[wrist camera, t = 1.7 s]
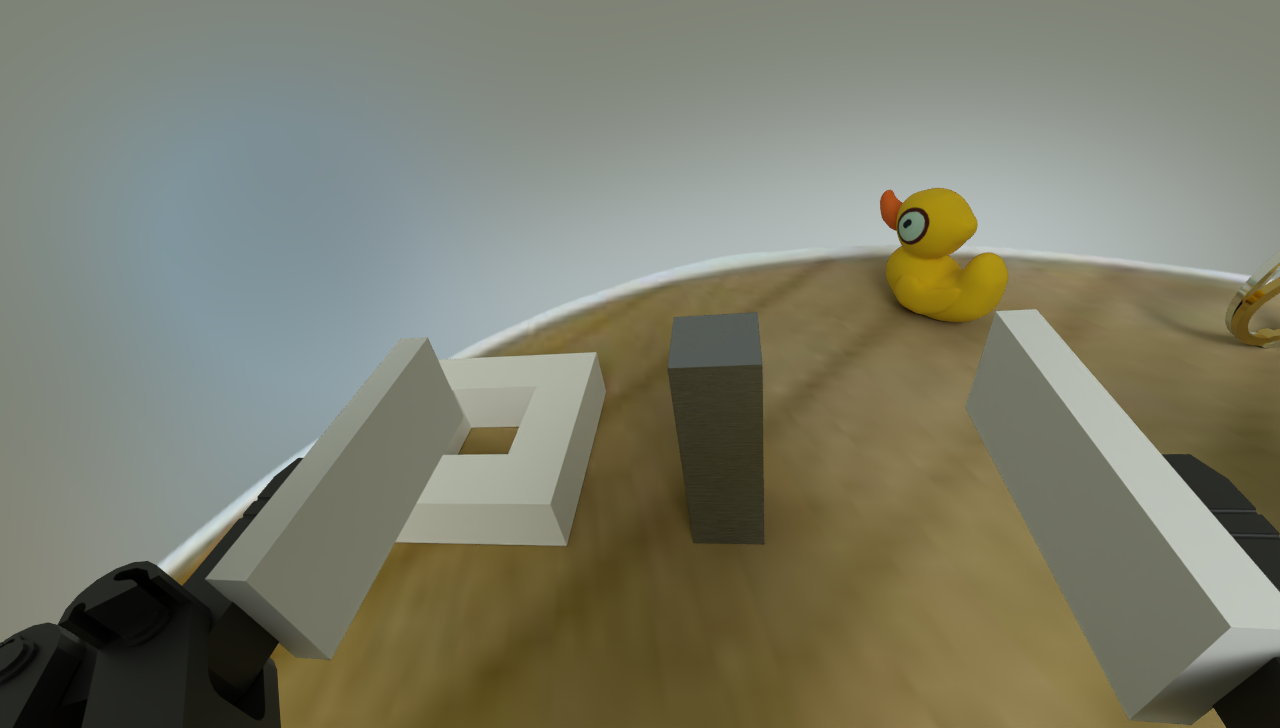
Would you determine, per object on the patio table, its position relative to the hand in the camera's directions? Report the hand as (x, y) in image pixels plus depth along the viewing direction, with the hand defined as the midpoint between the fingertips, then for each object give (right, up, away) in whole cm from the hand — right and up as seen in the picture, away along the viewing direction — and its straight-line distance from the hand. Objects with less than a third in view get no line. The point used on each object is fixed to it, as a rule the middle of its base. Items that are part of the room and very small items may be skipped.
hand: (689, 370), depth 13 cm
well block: (-12, -7, +26) cm, 29 cm away
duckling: (+23, +5, +32) cm, 40 cm away
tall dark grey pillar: (+4, -9, +19) cm, 21 cm away
